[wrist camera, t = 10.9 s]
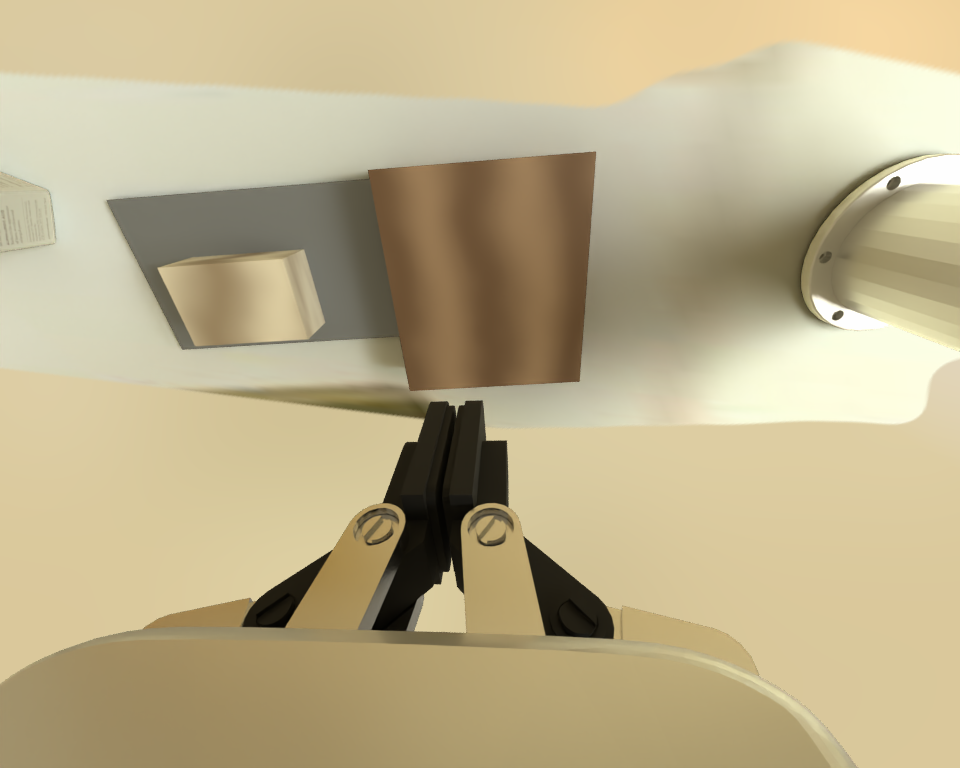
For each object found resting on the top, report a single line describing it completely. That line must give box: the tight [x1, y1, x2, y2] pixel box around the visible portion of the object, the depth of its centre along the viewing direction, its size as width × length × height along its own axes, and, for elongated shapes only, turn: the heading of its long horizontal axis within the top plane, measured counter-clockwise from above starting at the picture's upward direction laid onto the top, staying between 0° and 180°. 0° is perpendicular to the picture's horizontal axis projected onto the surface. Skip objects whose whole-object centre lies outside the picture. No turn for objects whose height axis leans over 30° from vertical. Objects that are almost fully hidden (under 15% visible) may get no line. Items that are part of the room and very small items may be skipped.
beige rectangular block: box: [157, 249, 325, 346], centre depth 29 cm, size 9×6×4 cm, turn 94°
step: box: [368, 152, 596, 391], centre depth 29 cm, size 14×16×4 cm
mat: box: [107, 179, 399, 350], centre depth 30 cm, size 20×12×1 cm, turn 94°
